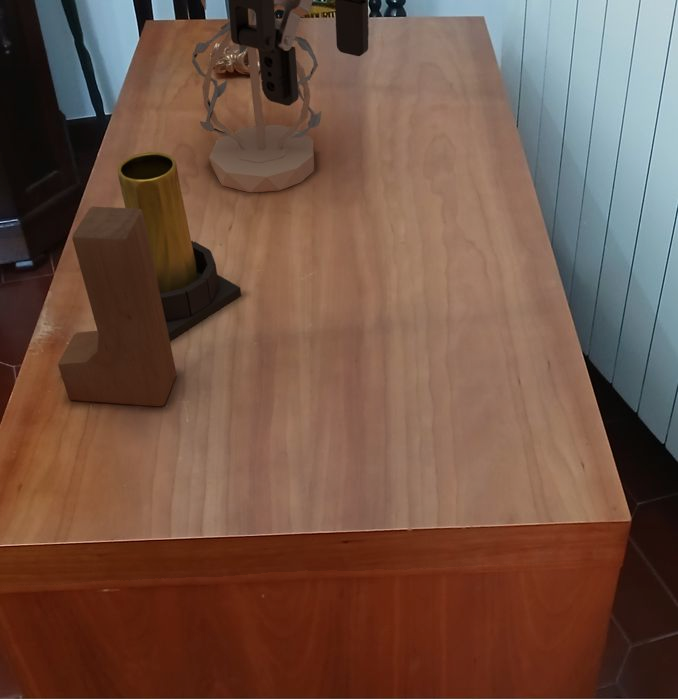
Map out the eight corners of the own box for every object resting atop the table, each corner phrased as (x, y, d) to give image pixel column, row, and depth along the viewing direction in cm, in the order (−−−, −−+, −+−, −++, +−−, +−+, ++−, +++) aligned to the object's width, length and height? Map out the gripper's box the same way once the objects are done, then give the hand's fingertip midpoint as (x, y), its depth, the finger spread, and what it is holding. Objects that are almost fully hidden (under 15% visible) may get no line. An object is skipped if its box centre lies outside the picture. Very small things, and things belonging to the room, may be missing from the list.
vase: (132, 285, 94) (103, 160, 84) (189, 266, 96) (167, 143, 86) (152, 317, 89) (124, 190, 80) (211, 298, 91) (190, 171, 82)
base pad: (164, 344, 88) (157, 312, 85) (101, 303, 93) (93, 271, 91) (241, 295, 93) (237, 262, 91) (178, 258, 99) (172, 227, 96)
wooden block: (67, 401, 82) (13, 233, 71) (84, 367, 86) (35, 202, 74) (164, 408, 81) (126, 238, 70) (178, 374, 85) (143, 206, 73)
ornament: (197, 73, 133) (193, 49, 131) (228, 56, 137) (225, 32, 135) (238, 86, 130) (235, 61, 127) (269, 68, 134) (267, 44, 131)
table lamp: (354, 121, 120) (343, -237, 94) (350, 212, 104) (336, -192, 78) (189, 124, 121) (133, -229, 95) (160, 215, 105) (83, -182, 79)
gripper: (319, -226, 58) (330, 29, 68) (169, -179, 49) (208, 106, 59) (425, -218, 54) (419, 48, 65) (285, -165, 45) (304, 133, 56)
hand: (318, 76), depth 62 cm, fingers open, 8 cm apart
